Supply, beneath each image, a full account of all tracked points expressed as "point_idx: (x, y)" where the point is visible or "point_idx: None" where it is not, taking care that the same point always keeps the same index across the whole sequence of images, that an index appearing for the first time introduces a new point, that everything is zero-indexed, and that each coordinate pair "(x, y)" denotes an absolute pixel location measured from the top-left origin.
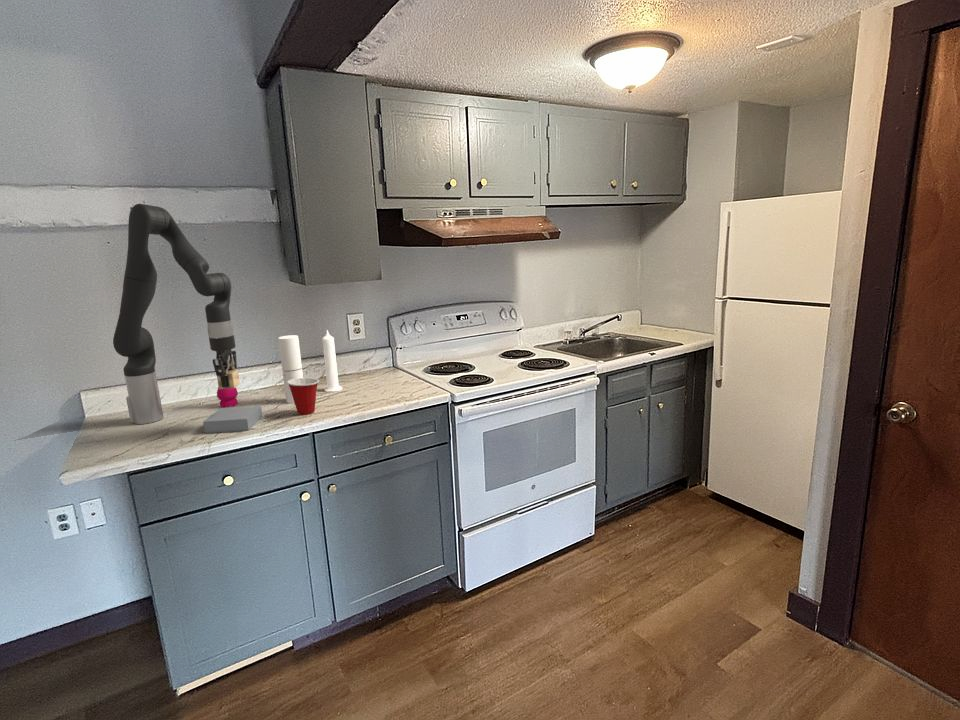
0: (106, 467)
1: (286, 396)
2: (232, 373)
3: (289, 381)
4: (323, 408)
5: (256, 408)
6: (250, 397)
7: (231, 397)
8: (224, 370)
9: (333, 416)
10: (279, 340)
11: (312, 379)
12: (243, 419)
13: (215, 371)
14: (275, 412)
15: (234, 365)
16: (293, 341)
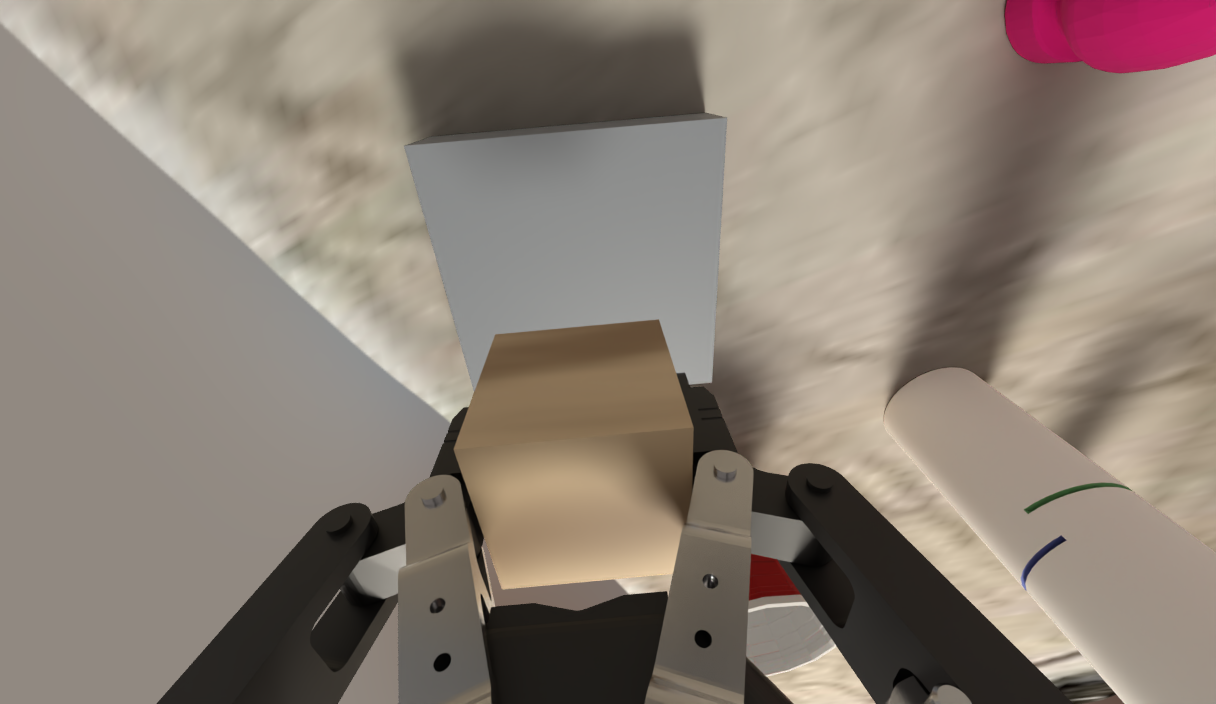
0: None
1: (936, 399)
2: (510, 587)
3: (775, 604)
4: None
5: None
6: (1201, 89)
7: (1069, 43)
8: (372, 638)
9: (641, 578)
10: None
11: (820, 645)
12: (473, 385)
13: (264, 584)
14: (752, 382)
15: (789, 569)
16: None
